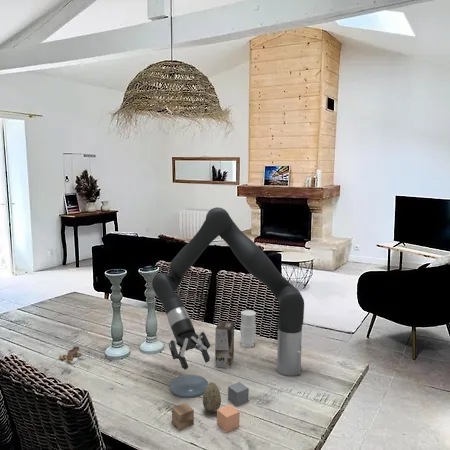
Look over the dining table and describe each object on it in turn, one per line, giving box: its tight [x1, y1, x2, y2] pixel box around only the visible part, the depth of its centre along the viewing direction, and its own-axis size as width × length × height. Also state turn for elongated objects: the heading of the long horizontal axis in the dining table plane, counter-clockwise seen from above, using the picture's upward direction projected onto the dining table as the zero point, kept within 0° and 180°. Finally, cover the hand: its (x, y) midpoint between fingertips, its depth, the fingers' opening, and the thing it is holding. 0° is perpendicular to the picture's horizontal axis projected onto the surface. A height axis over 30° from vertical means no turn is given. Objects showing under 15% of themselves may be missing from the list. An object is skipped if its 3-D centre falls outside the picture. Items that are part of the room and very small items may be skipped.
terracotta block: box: [216, 403, 241, 433], centre depth 130 cm, size 5×5×5 cm
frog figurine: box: [57, 346, 86, 366], centre depth 174 cm, size 12×12×4 cm
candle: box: [239, 309, 257, 348], centre depth 187 cm, size 7×7×15 cm
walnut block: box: [171, 402, 195, 431], centre depth 131 cm, size 5×5×5 cm
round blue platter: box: [169, 374, 209, 399], centre depth 152 cm, size 14×14×1 cm
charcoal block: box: [227, 381, 249, 407], centre depth 144 cm, size 5×5×5 cm
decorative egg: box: [202, 381, 222, 414], centre depth 137 cm, size 6×6×10 cm
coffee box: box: [214, 320, 235, 369], centre depth 170 cm, size 9×6×16 cm
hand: (197, 365), depth 143 cm, fingers open, 8 cm apart
